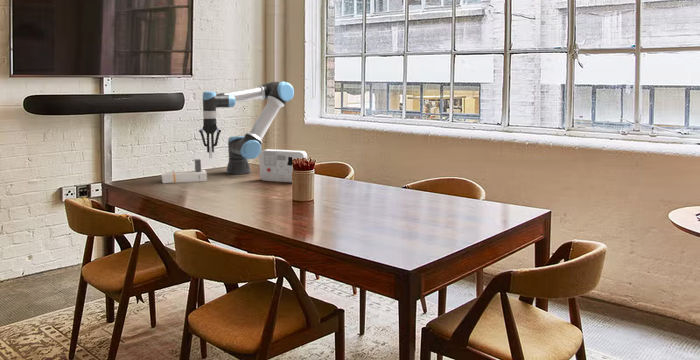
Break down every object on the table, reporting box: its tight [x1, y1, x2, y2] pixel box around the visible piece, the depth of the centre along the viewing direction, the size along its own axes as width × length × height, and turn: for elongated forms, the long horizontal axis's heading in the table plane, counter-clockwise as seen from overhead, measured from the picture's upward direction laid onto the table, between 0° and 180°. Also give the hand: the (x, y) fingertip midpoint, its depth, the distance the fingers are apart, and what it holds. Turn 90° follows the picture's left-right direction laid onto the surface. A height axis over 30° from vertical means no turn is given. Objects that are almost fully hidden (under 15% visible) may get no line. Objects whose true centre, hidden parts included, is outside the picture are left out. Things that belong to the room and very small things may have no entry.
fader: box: [194, 158, 202, 172], centre depth 392 cm, size 3×5×11 cm, turn 18°
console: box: [161, 169, 208, 184], centre depth 391 cm, size 25×11×5 cm, turn 108°
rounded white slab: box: [258, 148, 308, 183], centre depth 387 cm, size 29×8×18 cm, turn 70°
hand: (210, 157), depth 394 cm, fingers closed
